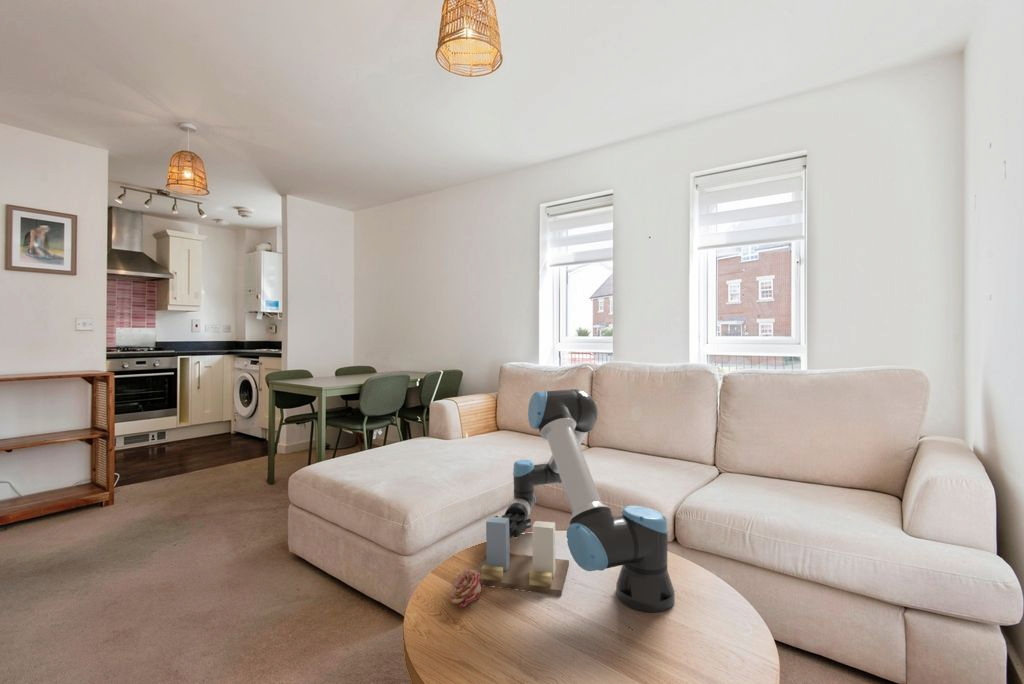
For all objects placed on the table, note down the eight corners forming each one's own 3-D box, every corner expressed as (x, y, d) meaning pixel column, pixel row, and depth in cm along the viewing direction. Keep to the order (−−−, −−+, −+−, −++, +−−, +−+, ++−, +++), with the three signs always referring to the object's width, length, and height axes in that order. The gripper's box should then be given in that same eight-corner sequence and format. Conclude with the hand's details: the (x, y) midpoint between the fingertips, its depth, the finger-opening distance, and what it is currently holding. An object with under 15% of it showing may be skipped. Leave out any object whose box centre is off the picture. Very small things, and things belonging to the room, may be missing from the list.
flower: (478, 581, 128) (462, 561, 126) (498, 587, 121) (481, 567, 119) (457, 613, 123) (439, 593, 121) (476, 622, 116) (458, 601, 114)
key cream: (555, 569, 134) (555, 522, 134) (553, 577, 130) (553, 528, 130) (535, 567, 135) (535, 520, 135) (532, 574, 131) (532, 526, 131)
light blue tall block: (509, 563, 138) (509, 517, 137) (506, 570, 134) (505, 523, 133) (490, 561, 139) (490, 516, 139) (486, 568, 135) (486, 521, 135)
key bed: (568, 565, 140) (568, 550, 140) (561, 595, 124) (561, 579, 124) (487, 555, 147) (487, 542, 146) (470, 584, 130) (470, 568, 130)
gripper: (535, 525, 160) (520, 557, 137) (500, 521, 163) (479, 552, 140) (535, 504, 160) (520, 532, 137) (499, 501, 163) (479, 528, 140)
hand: (499, 542), depth 138 cm, fingers closed
